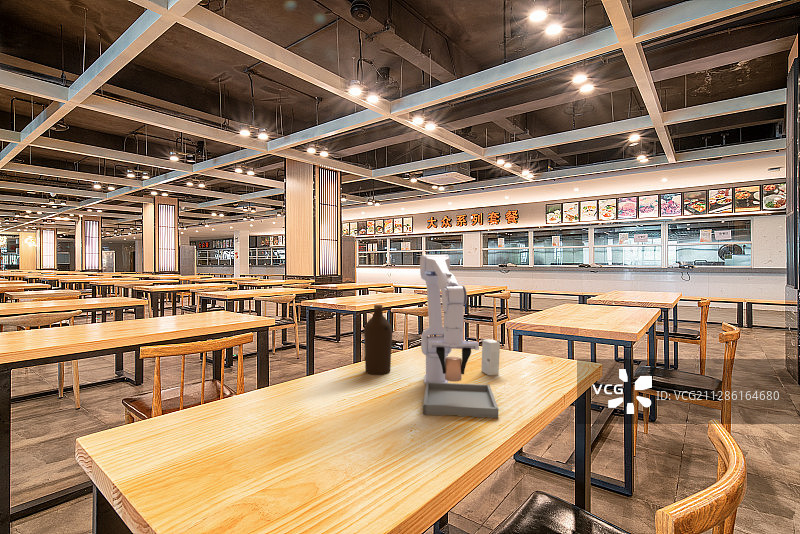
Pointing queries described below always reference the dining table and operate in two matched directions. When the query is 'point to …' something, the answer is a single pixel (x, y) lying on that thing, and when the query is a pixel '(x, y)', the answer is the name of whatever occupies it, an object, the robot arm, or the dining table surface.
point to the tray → (459, 400)
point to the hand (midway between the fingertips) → (453, 373)
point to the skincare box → (490, 357)
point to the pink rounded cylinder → (453, 369)
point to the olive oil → (378, 343)
